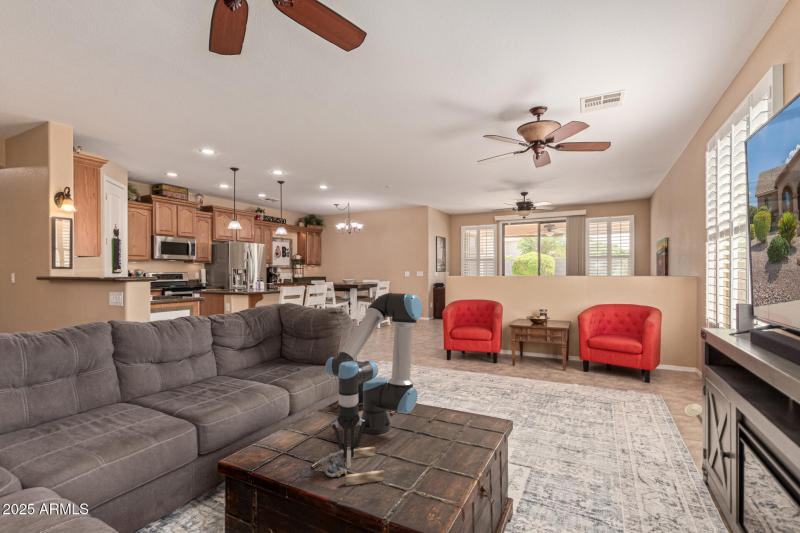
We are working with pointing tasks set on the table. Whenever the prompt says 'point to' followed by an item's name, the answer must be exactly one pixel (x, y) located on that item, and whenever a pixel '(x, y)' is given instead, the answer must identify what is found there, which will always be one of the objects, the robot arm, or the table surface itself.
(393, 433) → the table surface
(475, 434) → the table surface
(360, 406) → the black round piece
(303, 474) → the dark gray rectangular slab
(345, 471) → the mineral specimen
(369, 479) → the wooden slats
